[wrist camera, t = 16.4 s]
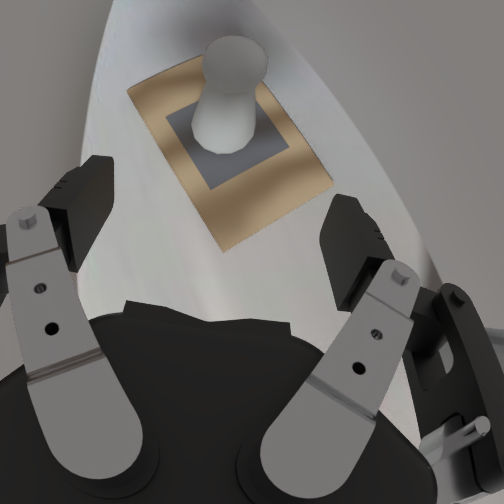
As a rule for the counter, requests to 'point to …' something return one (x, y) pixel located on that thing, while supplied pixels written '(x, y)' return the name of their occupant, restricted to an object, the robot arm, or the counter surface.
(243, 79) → the salt shaker
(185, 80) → the wooden board
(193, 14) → the counter surface
